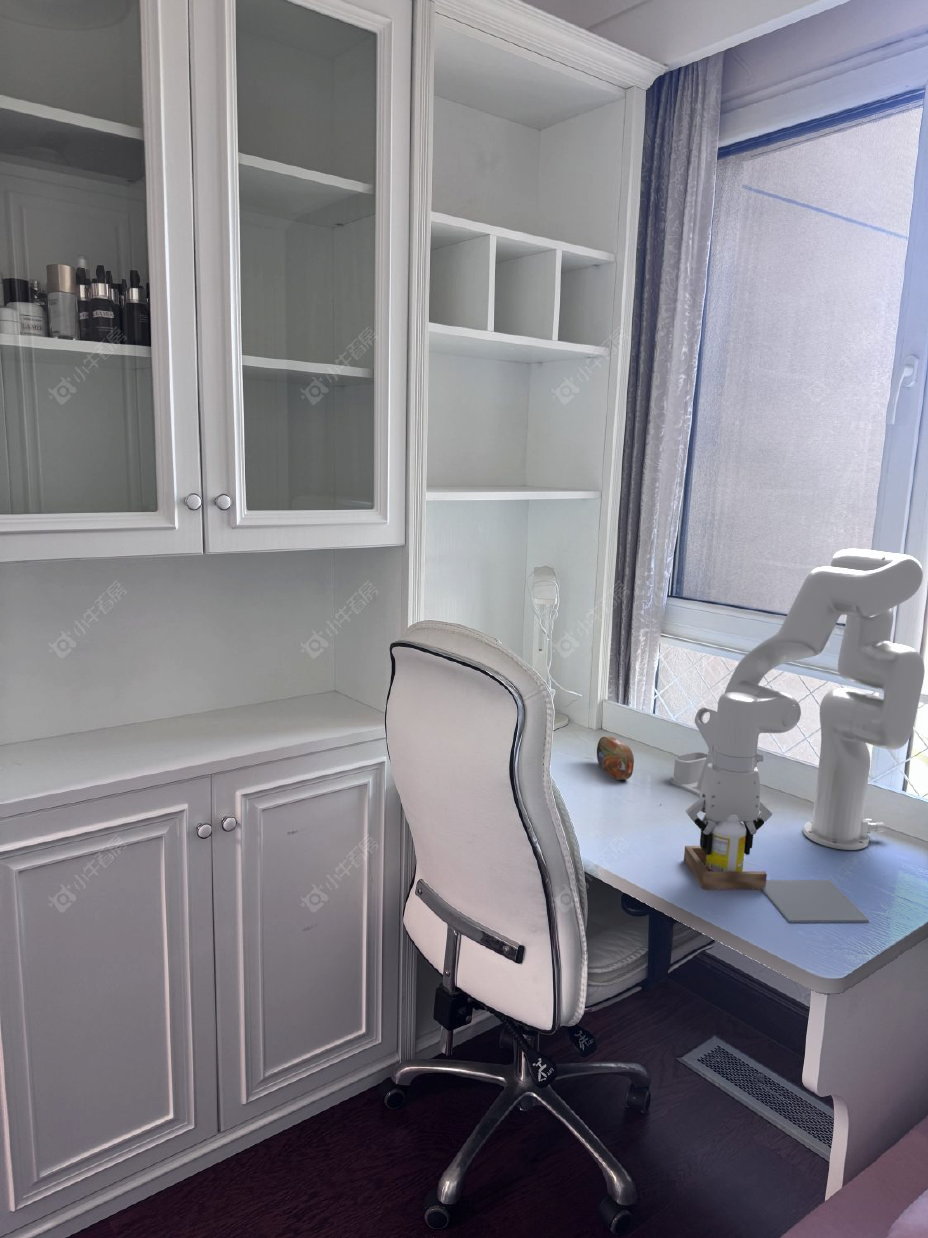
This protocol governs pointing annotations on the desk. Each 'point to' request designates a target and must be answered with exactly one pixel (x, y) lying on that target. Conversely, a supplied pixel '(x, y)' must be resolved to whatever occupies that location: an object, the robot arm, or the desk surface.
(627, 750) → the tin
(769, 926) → the desk surface
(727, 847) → the supplement bottle
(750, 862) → the desk surface
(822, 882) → the mat
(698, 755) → the phone holder
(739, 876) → the wooden u-shaped frame
